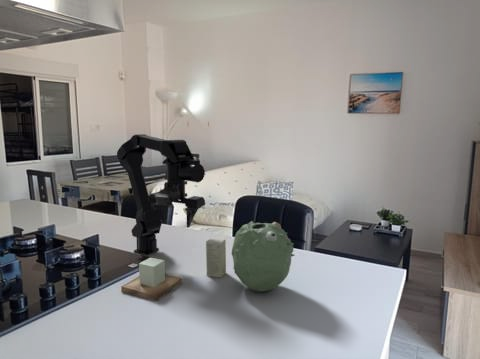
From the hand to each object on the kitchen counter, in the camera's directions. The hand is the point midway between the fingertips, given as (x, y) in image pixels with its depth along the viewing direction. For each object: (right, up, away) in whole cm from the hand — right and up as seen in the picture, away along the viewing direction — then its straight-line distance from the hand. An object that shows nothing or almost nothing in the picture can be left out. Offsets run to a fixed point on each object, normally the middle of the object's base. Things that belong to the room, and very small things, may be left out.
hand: (176, 225), depth 119 cm
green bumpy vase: (+27, -16, -15) cm, 35 cm away
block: (-4, -14, -16) cm, 22 cm away
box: (+13, -15, -6) cm, 21 cm away
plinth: (-4, -16, -16) cm, 23 cm away
